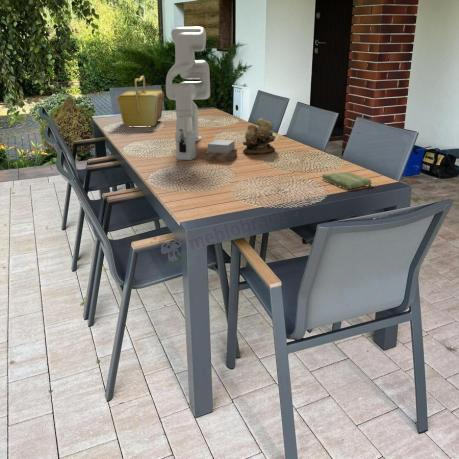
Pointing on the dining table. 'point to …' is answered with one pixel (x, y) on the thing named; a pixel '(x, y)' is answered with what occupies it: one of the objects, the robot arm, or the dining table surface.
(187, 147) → the supplement box
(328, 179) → the washcloth
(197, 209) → the dining table surface
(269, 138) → the carved figurine
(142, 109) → the picnic basket
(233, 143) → the grey top block
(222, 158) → the walnut base block
